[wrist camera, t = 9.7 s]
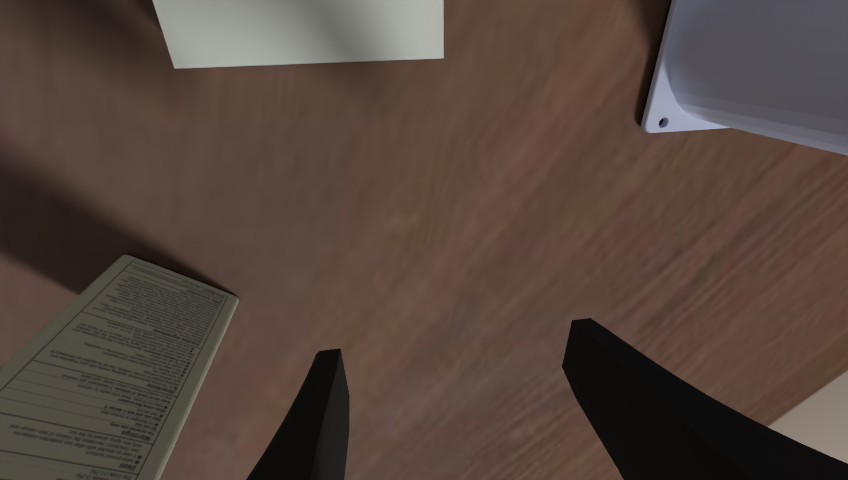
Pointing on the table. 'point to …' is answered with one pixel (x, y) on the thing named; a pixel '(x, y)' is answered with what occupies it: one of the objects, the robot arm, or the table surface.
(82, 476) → the skincare box
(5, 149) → the table surface
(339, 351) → the robot arm
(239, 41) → the socket block
